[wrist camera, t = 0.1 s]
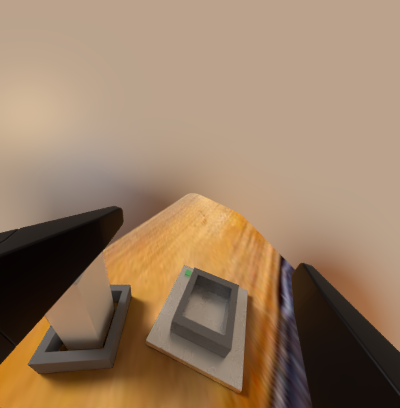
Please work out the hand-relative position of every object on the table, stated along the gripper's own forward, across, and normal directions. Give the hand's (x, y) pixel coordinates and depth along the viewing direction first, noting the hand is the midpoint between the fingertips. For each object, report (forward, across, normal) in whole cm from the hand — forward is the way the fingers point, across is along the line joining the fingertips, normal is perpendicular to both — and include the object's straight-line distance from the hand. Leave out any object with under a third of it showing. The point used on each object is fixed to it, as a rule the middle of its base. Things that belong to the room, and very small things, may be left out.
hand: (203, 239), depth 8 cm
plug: (0, +9, +17) cm, 19 cm away
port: (+5, -2, +16) cm, 17 cm away
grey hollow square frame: (0, +9, +17) cm, 19 cm away
